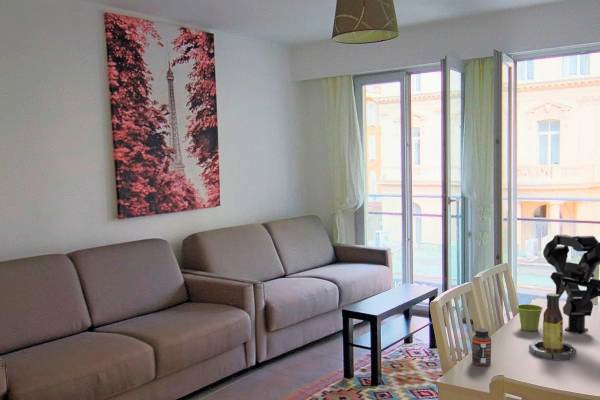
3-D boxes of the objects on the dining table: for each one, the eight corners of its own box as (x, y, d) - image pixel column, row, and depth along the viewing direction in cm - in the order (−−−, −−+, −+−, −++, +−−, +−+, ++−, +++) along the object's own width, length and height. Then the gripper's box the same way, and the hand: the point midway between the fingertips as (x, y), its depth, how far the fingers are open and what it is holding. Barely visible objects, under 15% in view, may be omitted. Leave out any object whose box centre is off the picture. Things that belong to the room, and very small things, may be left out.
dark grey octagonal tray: (540, 343, 210) (540, 337, 210) (581, 352, 200) (581, 346, 200) (523, 353, 200) (523, 347, 200) (565, 363, 190) (565, 356, 190)
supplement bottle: (488, 367, 188) (488, 333, 187) (469, 364, 191) (470, 330, 190) (492, 361, 193) (493, 328, 192) (474, 358, 196) (475, 326, 195)
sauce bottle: (564, 355, 197) (565, 297, 195) (544, 354, 198) (545, 297, 196) (559, 348, 203) (561, 292, 201) (540, 347, 204) (541, 292, 202)
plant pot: (512, 329, 226) (512, 307, 225) (522, 323, 233) (523, 302, 232) (536, 334, 220) (536, 312, 219) (546, 328, 226) (546, 306, 226)
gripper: (553, 250, 216) (535, 283, 210) (603, 257, 200) (585, 294, 195) (565, 268, 221) (547, 301, 216) (615, 276, 205) (597, 312, 200)
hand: (568, 302), depth 206 cm, fingers open, 9 cm apart
